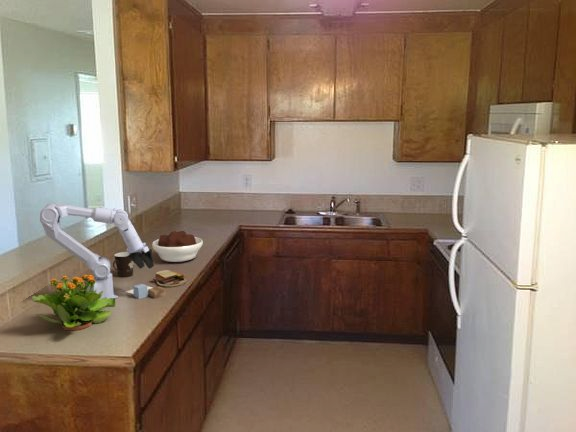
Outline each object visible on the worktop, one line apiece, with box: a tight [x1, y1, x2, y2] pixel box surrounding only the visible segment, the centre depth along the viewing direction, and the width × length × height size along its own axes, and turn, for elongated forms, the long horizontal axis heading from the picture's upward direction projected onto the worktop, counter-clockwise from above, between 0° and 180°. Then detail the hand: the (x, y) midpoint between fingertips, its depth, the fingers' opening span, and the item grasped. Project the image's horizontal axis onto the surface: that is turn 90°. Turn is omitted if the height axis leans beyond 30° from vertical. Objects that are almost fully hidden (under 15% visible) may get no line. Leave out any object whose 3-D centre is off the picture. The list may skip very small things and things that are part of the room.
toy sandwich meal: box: [153, 269, 187, 288], centre depth 230 cm, size 12×14×5 cm
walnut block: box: [148, 286, 167, 300], centre depth 214 cm, size 5×5×3 cm
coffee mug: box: [112, 251, 135, 279], centre depth 240 cm, size 12×9×10 cm
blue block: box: [132, 283, 149, 300], centre depth 213 cm, size 4×4×4 cm
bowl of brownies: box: [151, 230, 204, 263], centre depth 266 cm, size 25×25×15 cm
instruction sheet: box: [125, 285, 153, 295], centre depth 221 cm, size 10×7×1 cm
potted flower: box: [31, 274, 116, 331], centre depth 181 cm, size 25×24×18 cm
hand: (146, 267), depth 214 cm, fingers open, 7 cm apart
